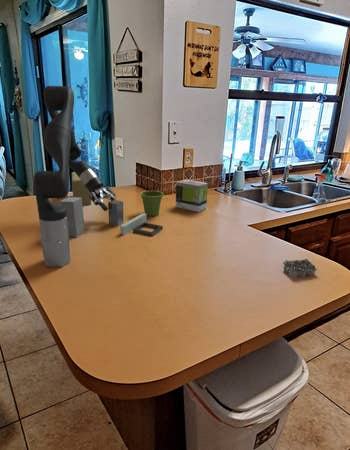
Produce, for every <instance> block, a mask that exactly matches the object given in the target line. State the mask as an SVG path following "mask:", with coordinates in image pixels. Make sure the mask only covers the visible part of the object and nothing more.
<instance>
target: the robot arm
mask: <svg viewBox="0 0 350 450" xmlns="http://www.w3.org/2000/svg"><path fill="white" fill-rule="evenodd" d="M43 90H44V91H43V100H44V104H45V107H46V109H47V112H48V114H49V117H50V119H51V120H50V121H49V122H48V124H47V125H46V127H45V130H44V137H43V145H44V148H45V150H46V151H47V152H48V154H49V156H50V157H51V158H52V159H53V161H54V162H55V163H56V165H57V167H58V169H57V170H39V171H36V172H35V173H34V176H33V189H34V194H35V201H36V206H37V207H36V208H37V213H38V219H39V221H38V222H39V228H40V229H39V231H40V239H41V247H42V249H41V250H42V258H43V263H44V267H50V268H51V267H52V268H53V267H54V268H56V267H57V268H58V267H59V268H60V267H61V268H62V267H64V266H65V265H67V264H69V263H70V262H71V250H70V249H71V248H70V239H69V238H70V236H69V235H68V222H67V211H66V208H65V207H63V206H60V204H57V203H55V202H53V201H51V199H66V198H68V195H69V191H70V169H71V170H72V171H73V172H75V173H76V174H77V175H78V177H79V178H80V180H81V181H82V183H83V184H84V185H85V187H86V188H87V189H88V190H89V192H90V194H89V197H90V198H91V202H93V204H94V206H99V207H100V208H101V209H102V210H103V211H104V212H107V211H108V205H107V204H106V203H105V202H104V199H106V200H109V201H113V200H117V199H116V196H117V194H116V193H115V192H114V191H113V190H112V188H111V187H110V186H109V185H107V187H104V183H103V181H102V180H101V179H100V177H99V176H98V175H97V174H96V172H95V171H94V170H93V169H92V168H91V167H90V166H89V165H88V162H86V160H83V159H82V160H78V161H75V160H77V159H80V158H81V156H82V150H81V148H80V147H79V145H78V144H77V141H76V137H75V132H74V129H73V127H72V121H73V120H72V119H73V114H74V107H75V95H74V94H75V93H74V91H73V89H72V88H71V86H66V85H63V86H62V85H47V86H45V87H44V89H43ZM59 111H60V112H59Z"/></svg>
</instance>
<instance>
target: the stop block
mask: <svg viewBox="0 0 350 450" xmlns="http://www.w3.org/2000/svg"><path fill="white" fill-rule="evenodd" d="M107 207H108V210H107V211H108V213H107V214H108V225H110V226H114V227H119V226H121V225H123V224H124V223H125V222H124V201H123V200H118V199H116V200H113V201H111V200H109V201H108V203H107Z"/></svg>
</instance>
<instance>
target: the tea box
mask: <svg viewBox="0 0 350 450" xmlns="http://www.w3.org/2000/svg"><path fill="white" fill-rule="evenodd" d="M175 183H176V184H175V185H176V186H175V208H179V209H183V210H188V211H192V212H196V213H199V212H202V211H203V210H206V209H207V205H208V203H207V202H208V187H209V183H208V182H205V181H204V182H203V181H198V180H197V181H196V180H192V179H183V180H179V181H176V182H175Z"/></svg>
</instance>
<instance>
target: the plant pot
mask: <svg viewBox="0 0 350 450" xmlns="http://www.w3.org/2000/svg"><path fill="white" fill-rule="evenodd" d="M140 195H141V196H140V197H141V199H142V204H143V210H144V214H147V216H148V217H154V216H158V215H159V214H160V209H161V202H162V198H163V195H164V193H163V192H162V191H159V190H144V191H141V192H140Z"/></svg>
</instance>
